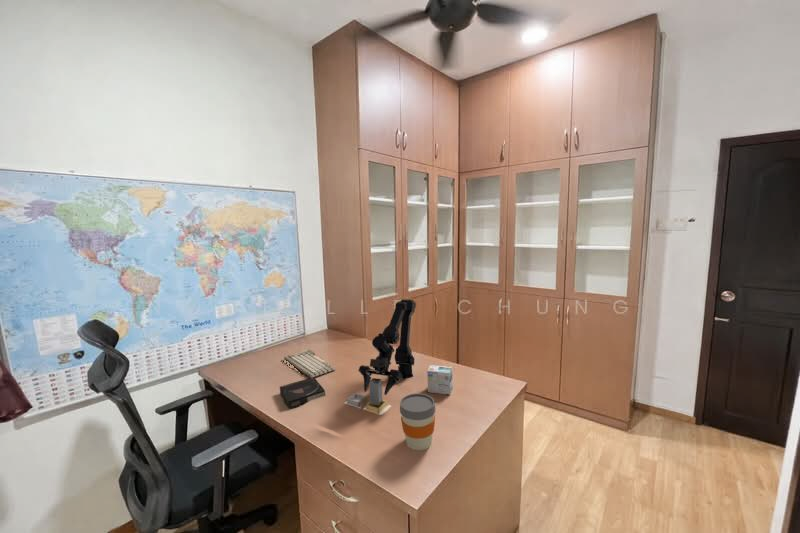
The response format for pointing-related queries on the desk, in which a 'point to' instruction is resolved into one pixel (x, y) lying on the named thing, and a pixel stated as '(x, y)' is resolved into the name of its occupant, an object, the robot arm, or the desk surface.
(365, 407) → the board
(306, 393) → the portable cd player
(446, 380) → the light bulb box
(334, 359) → the desk surface
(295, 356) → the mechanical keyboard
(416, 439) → the reusable coffee cup
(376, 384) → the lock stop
